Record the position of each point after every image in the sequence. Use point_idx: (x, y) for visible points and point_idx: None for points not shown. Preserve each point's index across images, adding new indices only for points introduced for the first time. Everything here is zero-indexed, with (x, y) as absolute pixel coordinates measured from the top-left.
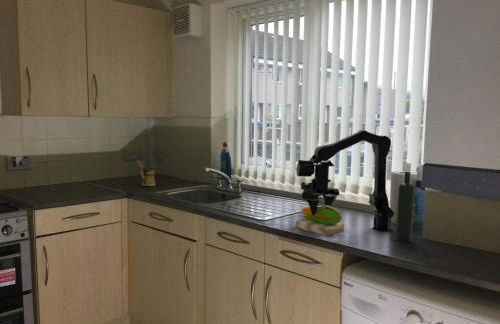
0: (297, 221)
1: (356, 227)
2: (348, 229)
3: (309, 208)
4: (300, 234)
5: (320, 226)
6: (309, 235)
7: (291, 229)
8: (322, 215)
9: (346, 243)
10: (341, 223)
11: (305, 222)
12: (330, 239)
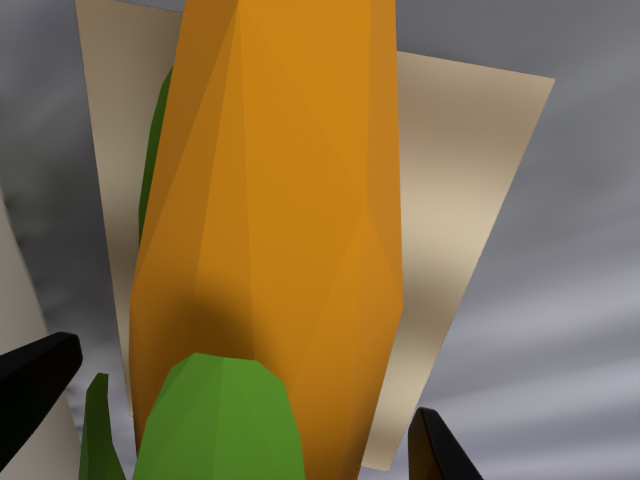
0: (86, 41)
1: (560, 449)
2: (451, 424)
3: (145, 231)
4: (10, 214)
5: (125, 367)
6: (58, 281)
7: (46, 35)
8: (113, 464)
9: (126, 476)
10: (378, 457)
11: (118, 183)
12: (112, 408)
